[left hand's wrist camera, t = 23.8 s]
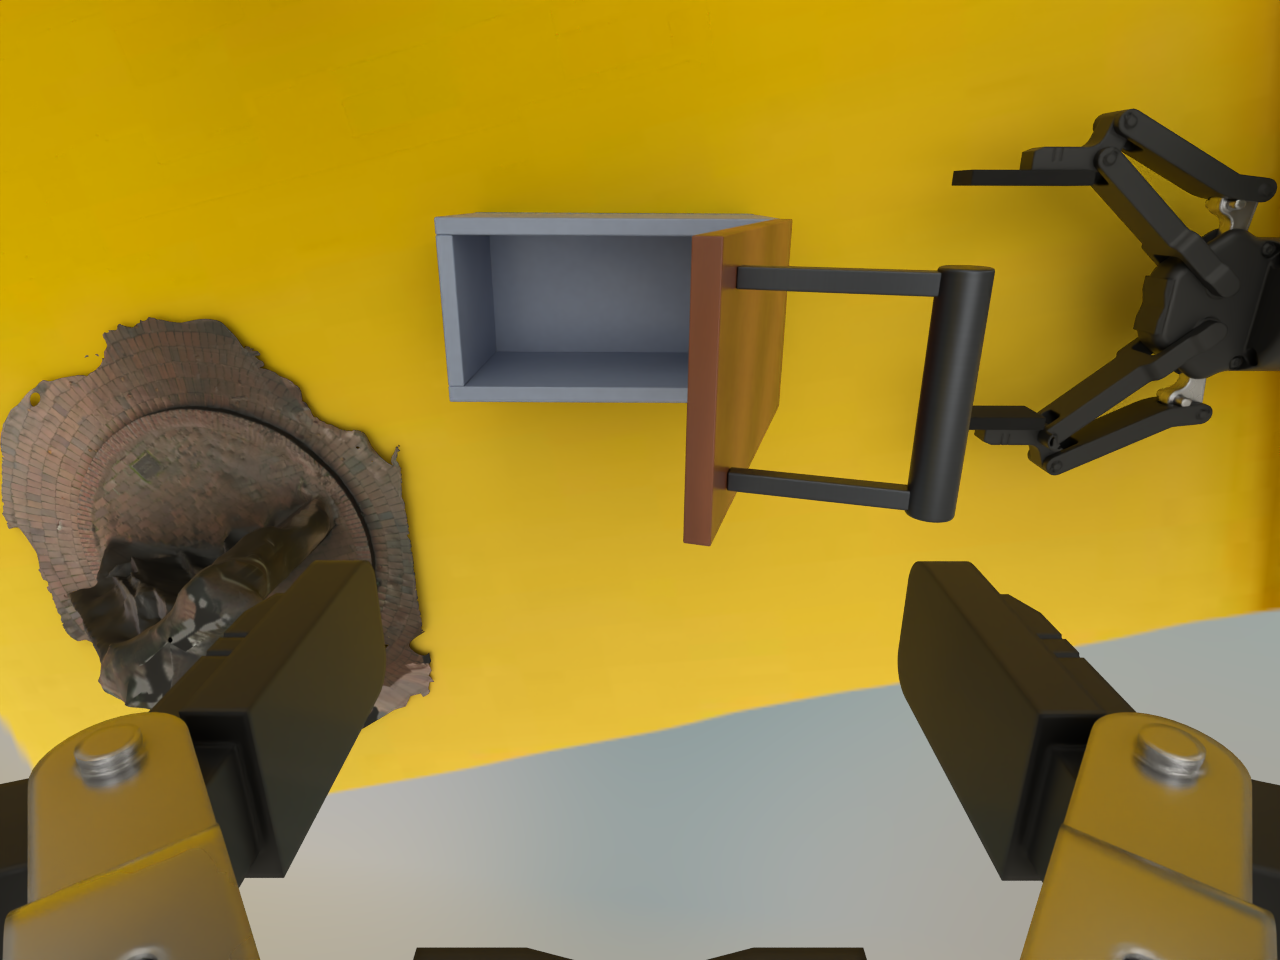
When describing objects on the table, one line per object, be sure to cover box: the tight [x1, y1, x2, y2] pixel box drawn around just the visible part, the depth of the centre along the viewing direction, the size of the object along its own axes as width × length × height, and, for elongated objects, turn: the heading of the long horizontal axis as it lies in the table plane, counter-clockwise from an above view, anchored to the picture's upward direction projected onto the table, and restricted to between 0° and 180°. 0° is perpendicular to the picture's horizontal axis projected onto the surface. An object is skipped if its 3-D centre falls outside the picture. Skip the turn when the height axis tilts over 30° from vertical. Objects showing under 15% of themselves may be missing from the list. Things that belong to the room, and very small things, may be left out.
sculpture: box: [0, 317, 434, 729], centre depth 49 cm, size 33×35×16 cm
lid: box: [683, 219, 995, 546], centre depth 30 cm, size 18×10×8 cm
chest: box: [434, 213, 777, 403], centre depth 45 cm, size 18×10×11 cm, turn 90°
